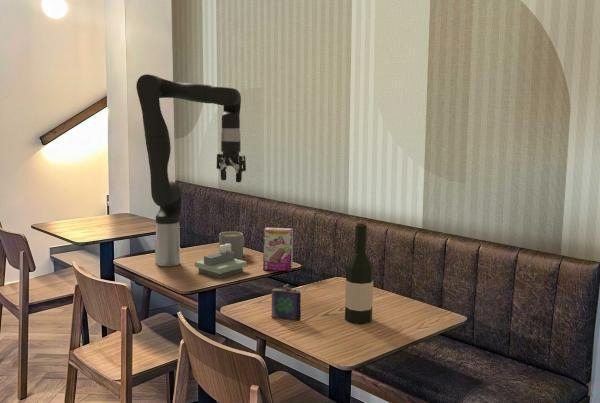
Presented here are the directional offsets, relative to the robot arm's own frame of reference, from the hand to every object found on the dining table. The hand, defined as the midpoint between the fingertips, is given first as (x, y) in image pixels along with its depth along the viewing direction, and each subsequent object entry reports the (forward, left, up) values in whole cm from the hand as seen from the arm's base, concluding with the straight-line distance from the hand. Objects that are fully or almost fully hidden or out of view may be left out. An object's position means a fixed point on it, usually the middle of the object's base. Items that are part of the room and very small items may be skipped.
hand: (231, 181), depth 240 cm
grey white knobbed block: (+4, -10, -30) cm, 32 cm away
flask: (+57, -31, -34) cm, 73 cm away
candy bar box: (+18, +8, -34) cm, 40 cm away
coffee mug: (-10, +11, -34) cm, 38 cm away
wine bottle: (+74, -17, -34) cm, 83 cm away
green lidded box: (+4, -9, -34) cm, 36 cm away
